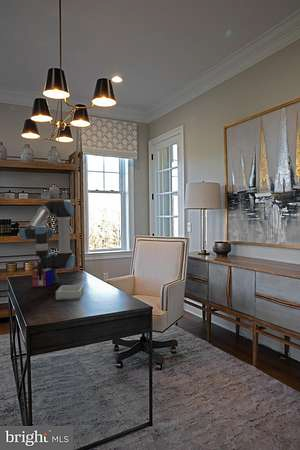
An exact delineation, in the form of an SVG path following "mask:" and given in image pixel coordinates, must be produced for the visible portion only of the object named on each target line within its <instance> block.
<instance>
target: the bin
mask: <svg viewBox="0 0 300 450" xmlns="http://www.w3.org/2000/svg"><path fill="white" fill-rule="evenodd" d="M84 287H85V286H84V284H65V285H64V284H63V285H60V286H59V288H57V290H56V291H55V300H56V301H61V300H64V301H65V299H66V300H81V298H82V296H83V294H84V292H85V291H84V289H85V288H84Z"/></svg>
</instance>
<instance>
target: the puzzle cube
mask: <svg viewBox="0 0 300 450" xmlns="http://www.w3.org/2000/svg"><path fill="white" fill-rule="evenodd" d="M42 275H43V285H39V283H38V275H37V269H34V270H32V271H31V282H32V285H31V286H32V287H34V288H35V287H37V288H38V287H40V288H41V287H42V288H46V287H49V286H51V285H53V283H54V277H53V269H46V268H43V273H42ZM54 284H55V283H54Z"/></svg>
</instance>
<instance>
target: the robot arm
mask: <svg viewBox="0 0 300 450" xmlns="http://www.w3.org/2000/svg"><path fill="white" fill-rule="evenodd" d="M74 210H75V208H74V204H73V202H72V200H69V199H56V200H55V199H52V200H48V201H45V202H44V203H42V204H41V205H40V206H39V207H38V209H37V212H36V214H35V215H34V216H33V218H32V220H30V222H29V223H28V225H27V226H26V227H23V228H20V229H19V232H18V234H19V239H20V240H27V241H28V240H35V245H34V247H35V256H36V257H38V258H37V268H36V270H37V275H38V283H39V285H43V275H42V273H43V268H46V269H53V277H54V283H53V284H57V283H59V277H58V275H57V271H56V270H71V269H73V268H74V266H75V262H76V255H75V254H74V253H73V251H72V250H71V233H70V232H71V230H70V229H71V227H70V225H71V224H70V221H71V218H72V215H74V213H75V211H74ZM50 216H55V217H56V219H57V222H58V223H57V224H58V225H57V226H58V227H57V228H58V230H57V231H58V251H57V252H49V250H48V249H49V244H48V243H49V242H48V241H49V240H50V239H53V238H54V236H55V231H54V229H53V228H51V227H47V226H46V225H43V224H44V222H45V221H46V220H47V219H48V218H49V217H50ZM53 284H52V285H53Z"/></svg>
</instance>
